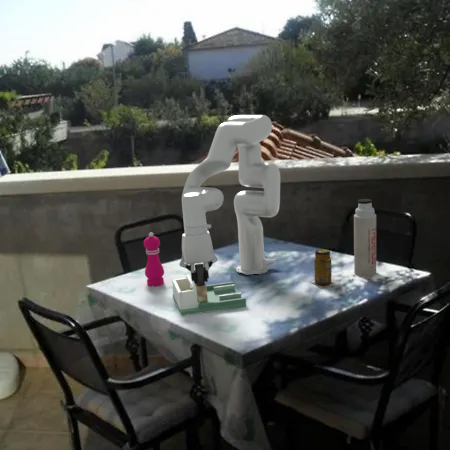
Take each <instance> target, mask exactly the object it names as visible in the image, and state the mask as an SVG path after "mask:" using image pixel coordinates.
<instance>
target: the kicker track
mask: <svg viewBox="0 0 450 450" xmlns="http://www.w3.org/2000/svg"><path fill="white" fill-rule="evenodd" d="M235 289H236V284H232V285H225V286H218V287H214V293H219V292H227V291H234V290H235ZM241 297H242V292H241V291H239V292H238V293H233V294H226V295H219V301H224V300H231V299H238V298H241Z"/></svg>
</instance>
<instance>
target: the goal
mask: <svg viewBox="0 0 450 450" xmlns="http://www.w3.org/2000/svg"><path fill="white" fill-rule="evenodd" d="M171 281H172V283H171V284H172V292H173V293H172V297H173V296H174V298H175V300H176V302H177V305H178V307H179V309H180V310H183V309H190V308H197V307H198V303H197V289H196V286H195V283H194V281H192V279H191V275H190V274H186V275H185V277H182V278H174V279H172V280H171ZM190 287H192V289H193V290H190ZM188 289H189V290H188ZM186 290H188V291H186ZM174 298H173V299H174ZM177 305H176V306H177ZM178 307H177V308H178Z"/></svg>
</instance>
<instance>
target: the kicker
mask: <svg viewBox="0 0 450 450" xmlns="http://www.w3.org/2000/svg"><path fill="white" fill-rule="evenodd" d="M194 270H195V272H196V277H197V284H195V283H194V284H195V286H196V289H197V299H198V301H199V302H202V301H208V298H207V286H206V285H207V284H206V282H205V277H204V264H203V263H196V264H195V266H194Z"/></svg>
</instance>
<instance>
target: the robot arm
mask: <svg viewBox="0 0 450 450" xmlns="http://www.w3.org/2000/svg"><path fill="white" fill-rule="evenodd" d="M272 130H273V124H272V120H271V118H270V117H269V116H267V115H265V114H237V115H232V116H230V117H228V118H227V120H226V121H225V122H222V123H220V124H219V125H218V127H217V128H216V131H215V134H214V137H213V140H212V143H211V146H210V147H209V151H208V154H207V156H206V158H205V159H204V160H202V161H201V162H200V163H199V164H198V165H197V166H196V167H195V168H194V169H192V170H191V172H190V174H189V175H188V176H187V179H186V180H185V181H186V182H185V184H184V186H183V190H182V193H181V207H182V209H181V210H182V219H183V229H184V230H183V231H184V233H182V236H181V254H182V255H181V259H180V262H179V264H178V265H179V267H182V268H184V269H187V270H188V271H189V272H190V277H191V279H192V281H193V283H194V284H197V277H196V272H195V264H204V277H205V283H207V282H208V279H210V276H209V270H210V268H211V267H212V266H213V264H215V263H217V262H218V261H219V259H218V257H217V256H216V254H215V253H214V247H213V242H212V237H211V233H210V232H209V229H212V224H211V223H207V215H206V213H207V212H212V211H216V210H218V209H220V208H221V206H223V203H224V200H225V199H224V198H225V197H224V194H223V192H222V190H220V189H219V188H215V187H206V186H201V185H202V184H203V183H204V182H205V181H206V180H207V179H209V178H210V177H212V176H215V175H218V174H220V173H221V172H225V171H226V170H228V169H229V168H230V166H231V164H232V161H233V159H234V156H235V152H236V150H237V149H238V183H239V184H240V185H241V186H244V187H247V188H260V189H263V191H262V190H241V191H239V192H237V193H236V194H235V196H234V198H233V206H234V208H233V209H234V212H235V216H236V221H237V233H238V235H237V237H238V251H239V252H238V253H239V254H238V255H239V265H238V266H237V267H235V269H236V272H237V273H238V272H239V273H252V274H259V275H262V274H265V273H267V272H269V266H270V265H277V263H278V262H277V259H276V258H274V259H273V258H271V257H270V258H266V257H265V249H264V227H263V223H262V220H261V219H260V218H273V217H276V216H277V214H278V213H279V210H280V204H281V203H280V202H281V172H280V169H279V166H278V165H277V164H276V163H273V162H270V161H269V162H267V161H264V162H263V160H262V148H261V145H260V143H261V142H262V141H264V140H266V139H267V138H268V137H269V136H270V135H271V134H272V133H271V132H272ZM239 273H238V274H239Z"/></svg>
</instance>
